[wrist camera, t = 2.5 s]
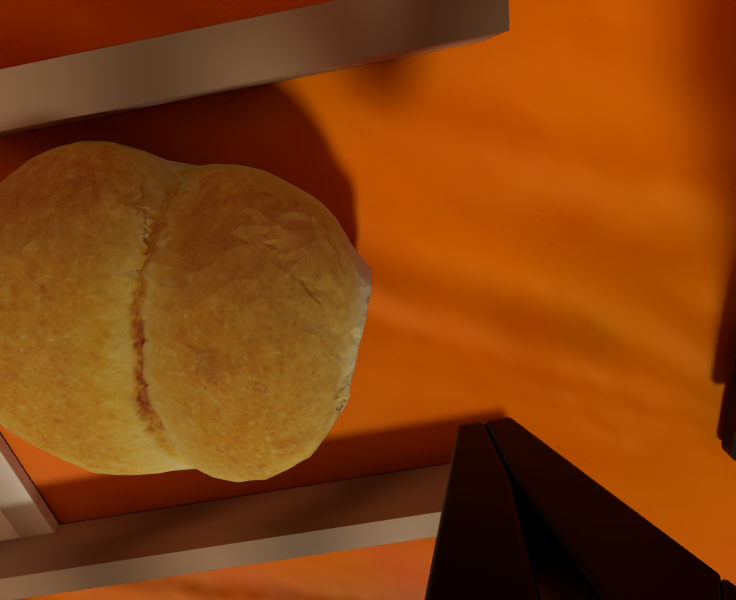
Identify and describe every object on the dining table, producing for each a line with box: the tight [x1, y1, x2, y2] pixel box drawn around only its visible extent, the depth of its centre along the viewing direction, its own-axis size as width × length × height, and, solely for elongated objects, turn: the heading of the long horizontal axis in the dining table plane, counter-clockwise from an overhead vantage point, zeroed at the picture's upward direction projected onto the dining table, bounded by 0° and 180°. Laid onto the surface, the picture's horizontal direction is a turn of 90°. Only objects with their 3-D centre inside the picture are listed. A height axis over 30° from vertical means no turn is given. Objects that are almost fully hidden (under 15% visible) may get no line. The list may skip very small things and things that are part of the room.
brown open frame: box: [0, 0, 509, 600], centre depth 12 cm, size 25×14×3 cm, turn 100°
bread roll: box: [0, 141, 372, 482], centre depth 10 cm, size 8×9×4 cm
